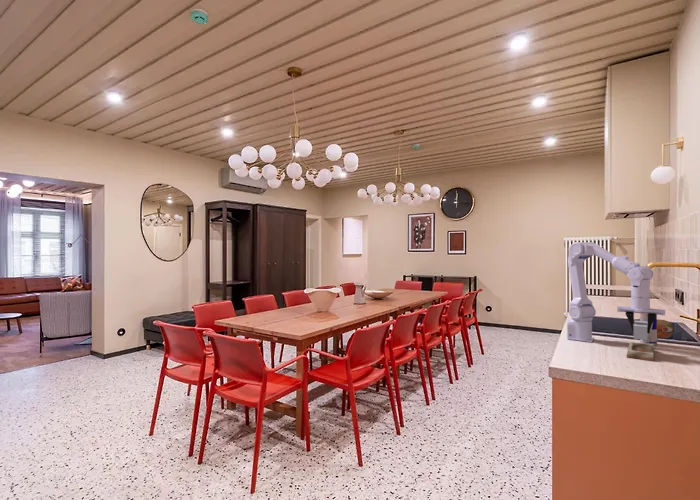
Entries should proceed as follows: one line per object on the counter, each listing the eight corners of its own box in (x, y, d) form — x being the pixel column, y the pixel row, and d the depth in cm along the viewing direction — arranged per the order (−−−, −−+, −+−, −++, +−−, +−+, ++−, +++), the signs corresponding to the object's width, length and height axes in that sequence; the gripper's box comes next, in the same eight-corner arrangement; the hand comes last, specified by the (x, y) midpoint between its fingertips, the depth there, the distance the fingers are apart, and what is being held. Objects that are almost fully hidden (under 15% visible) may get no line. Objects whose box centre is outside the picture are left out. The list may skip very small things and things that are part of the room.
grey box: (633, 338, 138) (633, 325, 138) (635, 332, 148) (634, 320, 148) (647, 340, 136) (647, 326, 136) (647, 334, 145) (647, 321, 145)
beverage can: (657, 346, 152) (657, 310, 152) (640, 344, 155) (640, 309, 155) (656, 343, 156) (656, 308, 156) (639, 341, 160) (639, 307, 160)
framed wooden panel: (626, 357, 138) (626, 350, 138) (629, 347, 151) (629, 341, 151) (654, 361, 132) (654, 354, 132) (654, 350, 146) (654, 344, 146)
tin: (632, 336, 170) (632, 318, 169) (630, 334, 172) (630, 317, 172) (674, 339, 162) (674, 320, 162) (672, 337, 165) (671, 319, 165)
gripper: (616, 296, 143) (616, 331, 143) (665, 299, 134) (665, 336, 134) (617, 294, 149) (618, 328, 149) (664, 297, 139) (665, 333, 139)
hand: (640, 331), depth 142 cm, fingers closed on grey box, 4 cm apart
